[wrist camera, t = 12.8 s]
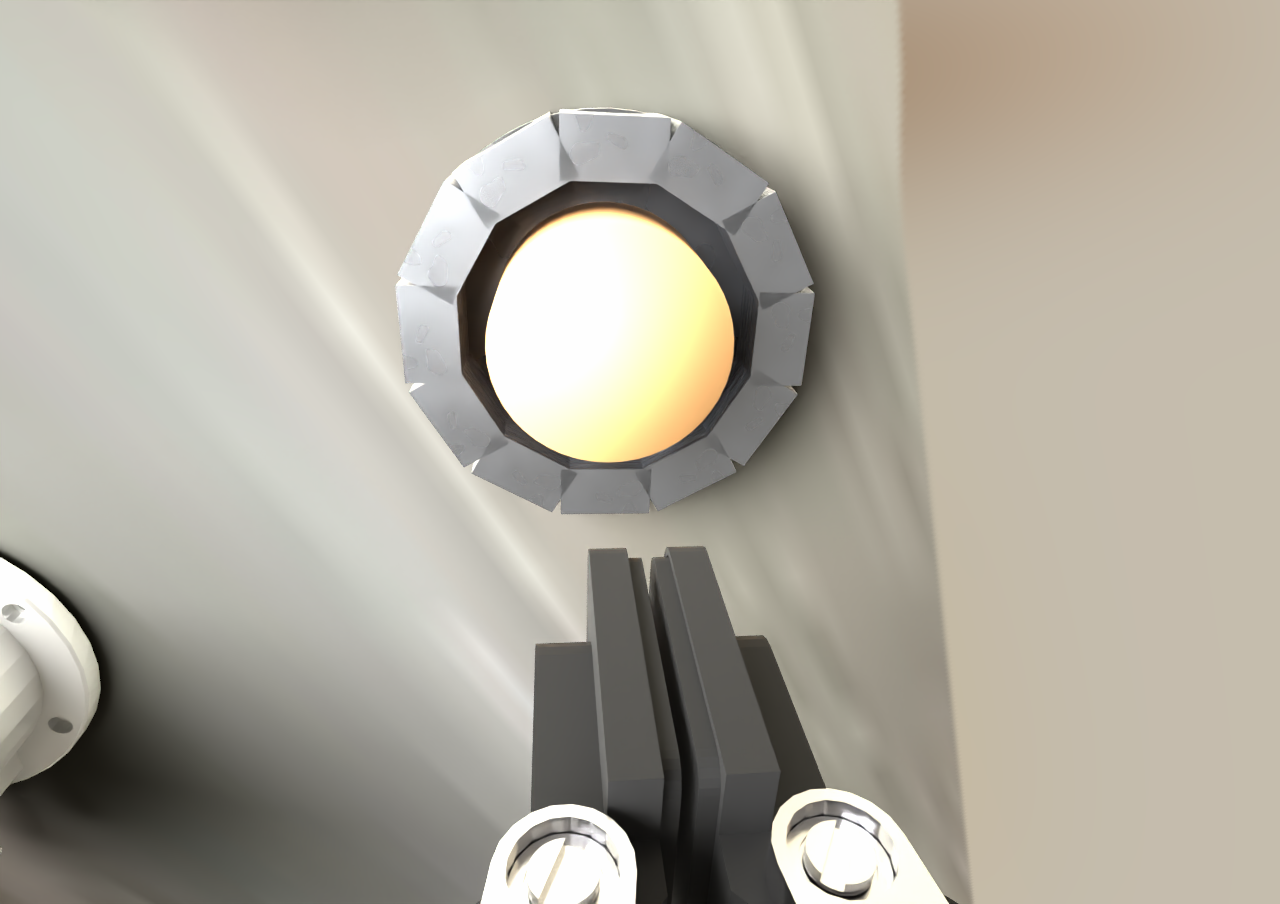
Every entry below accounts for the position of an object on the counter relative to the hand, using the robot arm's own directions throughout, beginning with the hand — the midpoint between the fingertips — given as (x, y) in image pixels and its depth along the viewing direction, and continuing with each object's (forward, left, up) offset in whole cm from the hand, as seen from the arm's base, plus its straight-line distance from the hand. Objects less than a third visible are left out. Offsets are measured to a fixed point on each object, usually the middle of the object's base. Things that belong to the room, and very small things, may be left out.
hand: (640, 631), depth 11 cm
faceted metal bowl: (0, 0, -16) cm, 16 cm away
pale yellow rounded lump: (0, 0, -16) cm, 16 cm away
